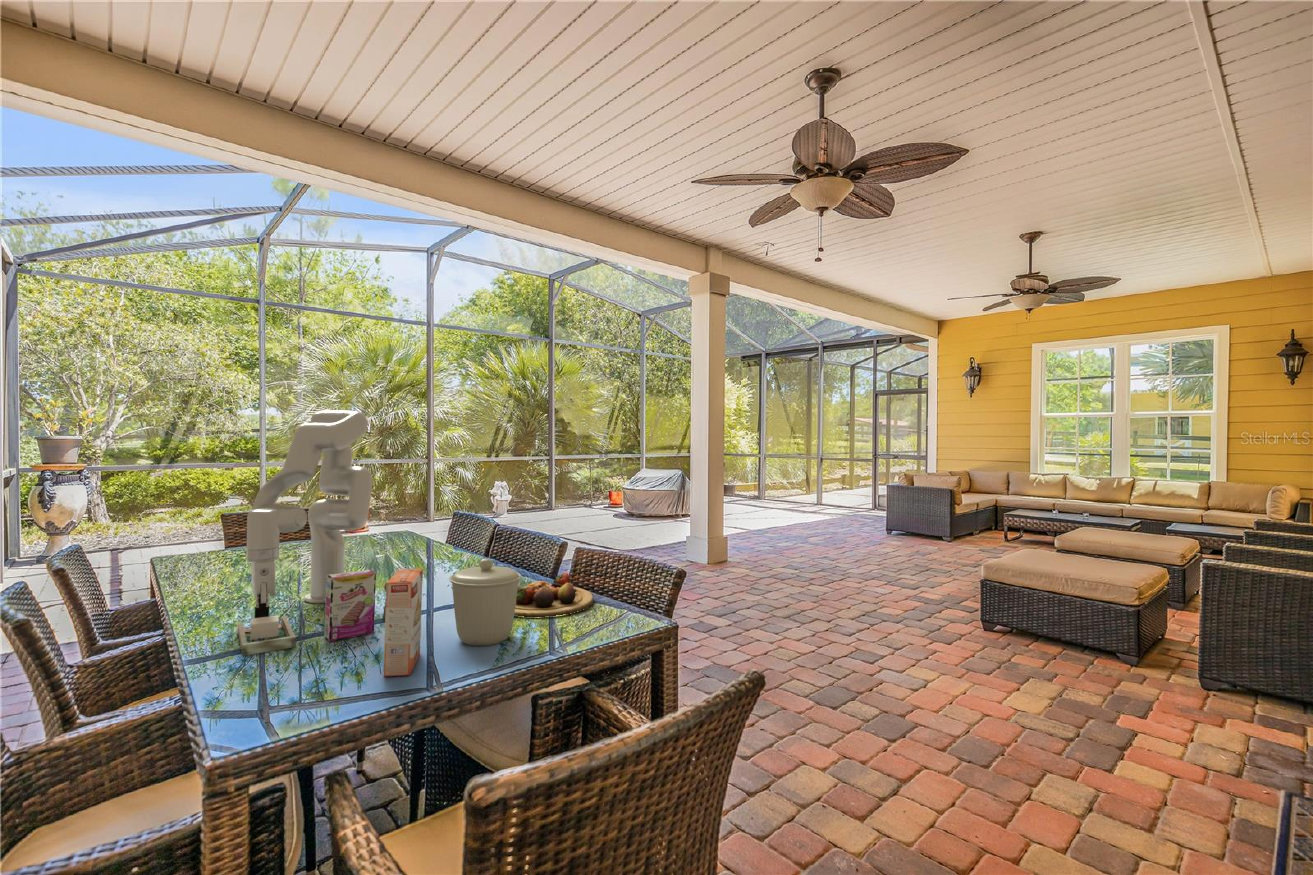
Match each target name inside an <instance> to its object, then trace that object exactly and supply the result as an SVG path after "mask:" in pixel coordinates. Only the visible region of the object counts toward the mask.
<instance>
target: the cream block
mask: <svg viewBox="0 0 1313 875" xmlns="http://www.w3.org/2000/svg"><path fill="white" fill-rule="evenodd" d="M279 622H280V621H279V615H271V616H270V615H269V617H261V618H255V617H253V618H251V619H250V628H251V632H250V640H251V639H252V640H257V639H258V638H260V639H267V638H274V637H279V628H278V624H280V623H279ZM266 637H267V638H266ZM258 640H259V639H258Z"/></svg>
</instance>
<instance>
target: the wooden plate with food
mask: <svg viewBox="0 0 1313 875" xmlns="http://www.w3.org/2000/svg"><path fill="white" fill-rule="evenodd" d="M552 581H553V582H552V583H550V582H547V581H543V580H537V581H534V582H531V583H529V584H528V585H525V586H522V587H518V591H517V598H516V606H515V613H514V615H518V616H524V617H545V616H556V615H563V614H570V613H574V612H577V611H580V610H583V609H585V610H586V608H587V607H588V608H590V607H591V606H592V605H593V603H594V596H593V594H592V592H590V591H588V590H586V589H584V588H580V587H575V585H574V584H573V583H571V576H570V575H569V573H568V572H561V574H558V575H556V576H555V579H553V580H552ZM591 604H592V605H591ZM590 605H591V606H590ZM589 606H590V607H589ZM588 608H587V609H588ZM583 611H584V610H583ZM580 612H581V611H580ZM574 614H575V613H574Z"/></svg>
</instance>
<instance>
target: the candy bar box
mask: <svg viewBox="0 0 1313 875" xmlns="http://www.w3.org/2000/svg"><path fill="white" fill-rule="evenodd" d="M376 580H377V572H376V571H374V570H371V569H363V570H357V571H356V570H355V571H348V572H346V571H345V572H344V573H338V574H330V575H326V599H325V603H324V606H325V607H324V632H323V633H324V636H323V637H324V638H325V639H326V640H327V641H328V642H331V643H332V642H335V641H340V640H346V639H351V638H355V637H356V638H357V637H359V636H360V637H362V636H366V635H371V634H374V633H375V616H376V614H375V613H376V612H375V610H376V582H377V581H376Z"/></svg>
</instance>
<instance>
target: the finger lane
mask: <svg viewBox="0 0 1313 875" xmlns="http://www.w3.org/2000/svg"><path fill="white" fill-rule="evenodd" d="M280 622H281V623H278V629H281V628H283V630H284V633H285V637H278V638H272V639H267V640H266V639H265V640H259V641H258V640H257V641H253V642H247V637H246V633H245V632H248V633H251V629H245V628H244V624H243V621H240V622H239V621H238V622H237V634H238V639H239V640H238V641H239V645H240V650H242V651H241V655H243V656H248V655H255V654H261V653H267V652H274V651H280V650H286V649H291V648H296V647H297V636H296V635H295V632H294V631H293V628H292V627H291V625H290V622H289V620H288V617H287V616H286V615H282V616H281V621H280Z"/></svg>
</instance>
